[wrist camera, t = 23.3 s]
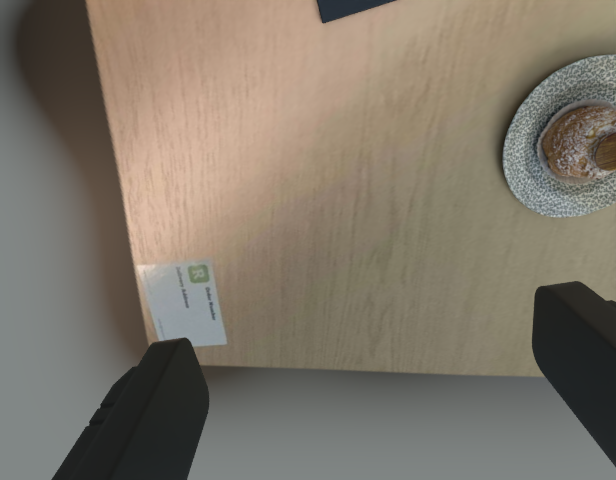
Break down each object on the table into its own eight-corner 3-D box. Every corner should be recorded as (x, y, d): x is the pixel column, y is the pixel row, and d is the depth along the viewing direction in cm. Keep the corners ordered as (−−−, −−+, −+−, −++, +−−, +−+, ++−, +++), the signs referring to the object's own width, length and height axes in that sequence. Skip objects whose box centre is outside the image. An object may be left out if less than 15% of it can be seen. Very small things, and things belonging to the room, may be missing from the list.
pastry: (587, 18, 26) (640, 6, 22) (691, 120, 29) (757, 128, 24) (465, 160, 30) (490, 173, 26) (566, 239, 33) (604, 263, 28)
